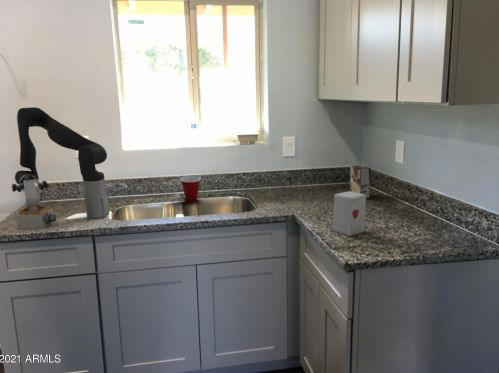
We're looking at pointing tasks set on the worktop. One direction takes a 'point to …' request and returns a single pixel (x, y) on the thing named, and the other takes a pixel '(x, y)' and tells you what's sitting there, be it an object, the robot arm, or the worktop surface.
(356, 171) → the coffee box
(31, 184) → the moka pot
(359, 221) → the supplement box
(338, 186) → the worktop surface
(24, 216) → the gearbox
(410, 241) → the worktop surface
